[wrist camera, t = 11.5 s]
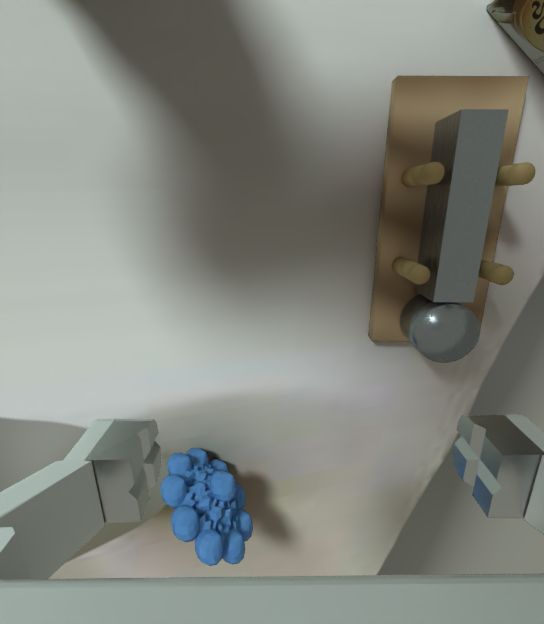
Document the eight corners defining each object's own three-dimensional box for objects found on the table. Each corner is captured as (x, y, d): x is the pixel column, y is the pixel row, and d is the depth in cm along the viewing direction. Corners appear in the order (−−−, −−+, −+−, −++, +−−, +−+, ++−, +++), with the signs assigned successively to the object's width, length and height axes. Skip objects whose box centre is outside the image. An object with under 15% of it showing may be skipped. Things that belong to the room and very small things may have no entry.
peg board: (392, 81, 31) (421, 51, 25) (517, 82, 31) (577, 52, 25) (368, 335, 38) (386, 361, 32) (469, 336, 38) (508, 362, 32)
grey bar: (423, 122, 31) (447, 109, 26) (487, 122, 31) (522, 109, 26) (396, 343, 37) (412, 362, 33) (450, 344, 37) (473, 362, 33)
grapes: (276, 464, 43) (276, 559, 32) (242, 498, 45) (231, 600, 33) (199, 412, 41) (170, 493, 30) (166, 449, 43) (127, 540, 31)
